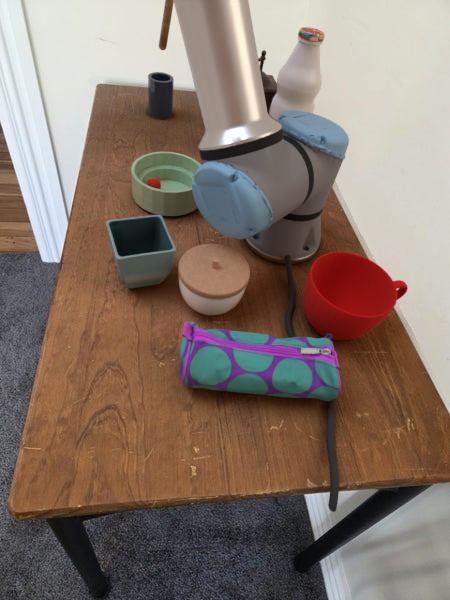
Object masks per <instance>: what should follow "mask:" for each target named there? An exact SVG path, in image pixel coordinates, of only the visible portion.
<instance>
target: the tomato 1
mask: <svg viewBox="0 0 450 600" xmlns="http://www.w3.org/2000/svg"><path fill="white" fill-rule="evenodd" d="M147 185H148V186H151V187H153V188H156V189H160V188H161V183H160V181H159V180H158V179H156V178H151V179H149V180H148V182H147Z"/></svg>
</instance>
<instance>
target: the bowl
mask: <svg viewBox="0 0 450 600" xmlns="http://www.w3.org/2000/svg"><path fill="white" fill-rule="evenodd" d="M201 165H202V164H201V163H200V162H198V160H196V159H194V158H193V157H190V156H188V155H186V154H182V153H179V152H174V151H154V152H149V153H146V154H143V155H141V156H139V157H138V158H136V159H135V160H134V161H133V163H132V164H131V171H130V172H131V191H132V192H131V193H132V195H131V196H132V198H133V199H134V202H135V204H137V205H138V206H139V207H141V209H142V210H144V211H147V212H149V213H151V214H153V215H161V216H162V217H178V216H184V215H187V214H190V213H192V212H194V211H196V210H197V209H198V207H197V205H196V203H195V200H194V197H193V192H192V181H193V180H194V178H193V177H194V174H195V172H196V171H197V169H198V168H199V167H200V166H201ZM151 178H156V179H158V180H159V181H160V183H161V188H160V189H156V188H153V187H151V186H148V185H147V182H148V180H149V179H151Z"/></svg>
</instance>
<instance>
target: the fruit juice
mask: <svg viewBox="0 0 450 600" xmlns="http://www.w3.org/2000/svg"><path fill="white" fill-rule="evenodd" d="M297 40H298V41H297V43H296V45H295V46H294V49H293V51H292V52H291V54H290V55H289V57H288V59H287V61H286V62H284V63H285V64H284V65H283V66H282V67H281V68H280V70H279V72H278V75H277V77H276V83H277V92H276V94H275V96H274V97H273V100H272V103H271V106H270V110H269V116H270V117H271V118H272V119H274V120H275V121H278V118H279V116H280V115H281V114H282V113H283V112H286V111H292V110H295V111H304V112H309V113H312V114H314V112H315V100H316V98H317V96H318V95H319V92H320V91H321V87H322V82H323V78H322V74H321V45H322V44H323V42H324V40H325V32H324V31H322V30H321V29H318V28H316V27H315V28H314V27H310V26H309V27H308V26H302V27H300V28H299V30H298V34H297Z"/></svg>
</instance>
